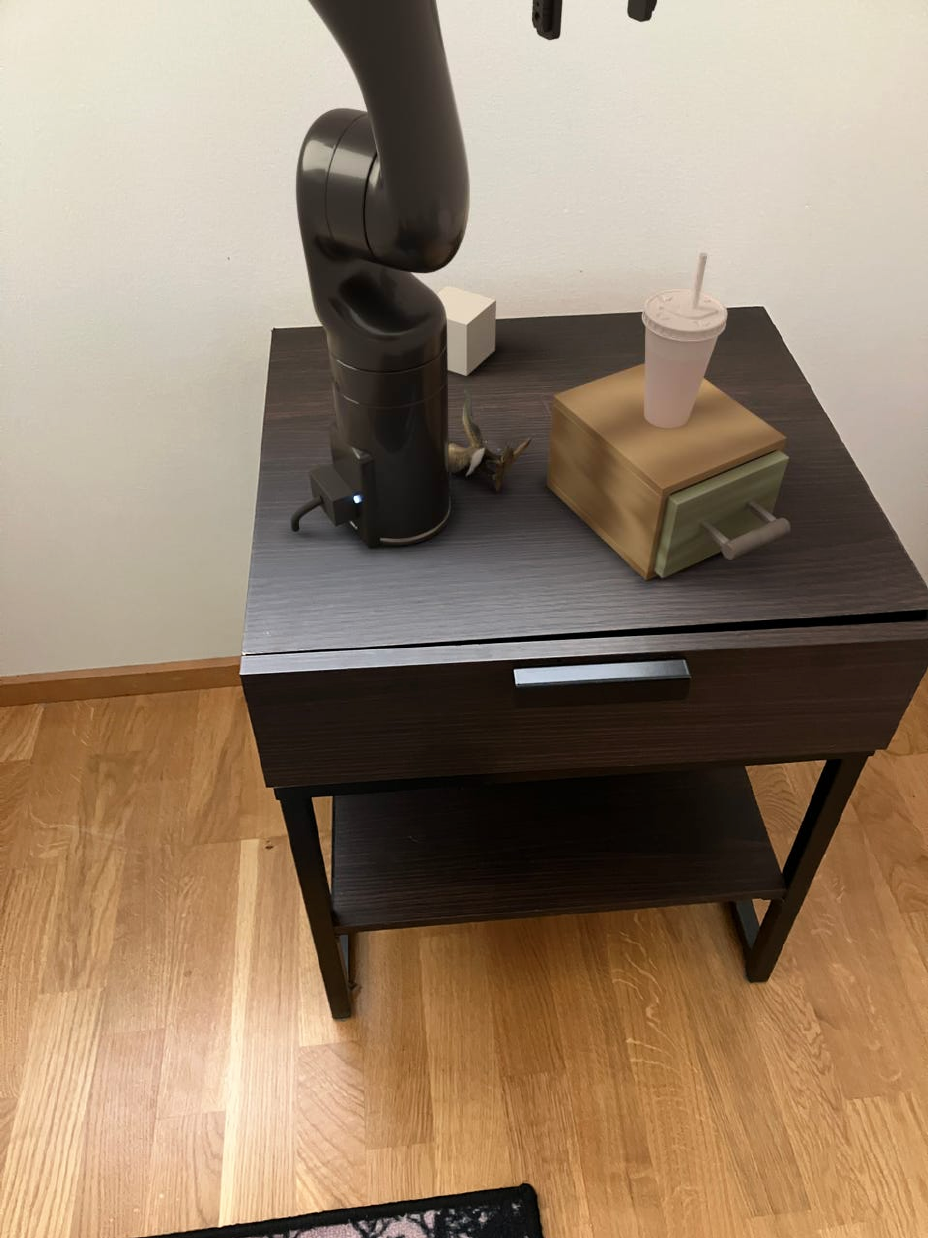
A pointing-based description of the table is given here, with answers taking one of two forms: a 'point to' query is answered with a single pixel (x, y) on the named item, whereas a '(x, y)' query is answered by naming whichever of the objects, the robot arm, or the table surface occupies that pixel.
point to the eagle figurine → (480, 450)
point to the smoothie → (678, 349)
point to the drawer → (723, 515)
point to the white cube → (468, 328)
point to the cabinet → (642, 457)
